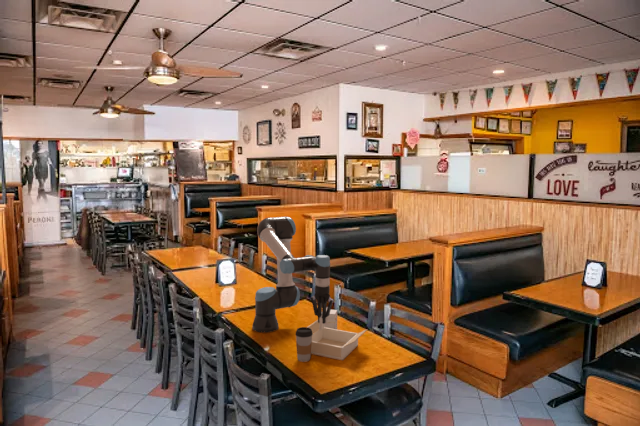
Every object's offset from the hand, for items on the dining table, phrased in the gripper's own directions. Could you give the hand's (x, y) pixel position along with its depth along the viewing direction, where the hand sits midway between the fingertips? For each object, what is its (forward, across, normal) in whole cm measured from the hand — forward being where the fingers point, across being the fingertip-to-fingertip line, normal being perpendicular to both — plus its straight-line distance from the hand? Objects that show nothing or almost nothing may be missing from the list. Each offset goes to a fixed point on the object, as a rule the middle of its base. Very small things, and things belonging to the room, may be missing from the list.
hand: (321, 328), depth 239 cm
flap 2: (+1, +19, 0) cm, 19 cm away
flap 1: (0, -4, 0) cm, 4 cm away
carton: (+10, +6, 0) cm, 11 cm away
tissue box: (+10, -6, +23) cm, 26 cm away
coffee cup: (+10, -1, -18) cm, 21 cm away
